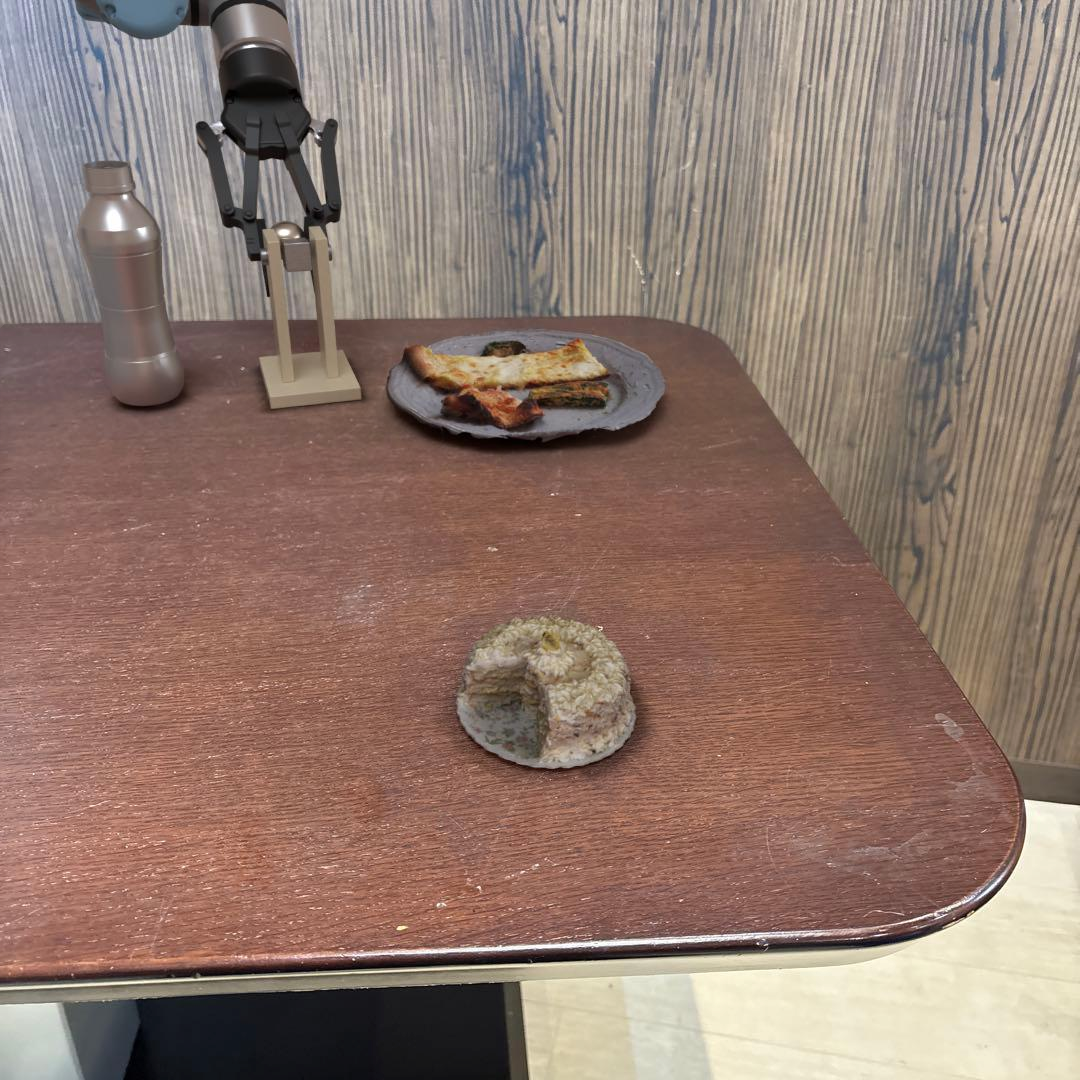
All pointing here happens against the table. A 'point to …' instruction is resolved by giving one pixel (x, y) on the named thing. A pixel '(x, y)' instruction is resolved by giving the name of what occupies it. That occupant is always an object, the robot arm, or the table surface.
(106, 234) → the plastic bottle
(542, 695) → the cake
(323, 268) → the bracket
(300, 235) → the lever
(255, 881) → the table surface
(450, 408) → the food plate
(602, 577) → the table surface
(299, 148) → the robot arm
